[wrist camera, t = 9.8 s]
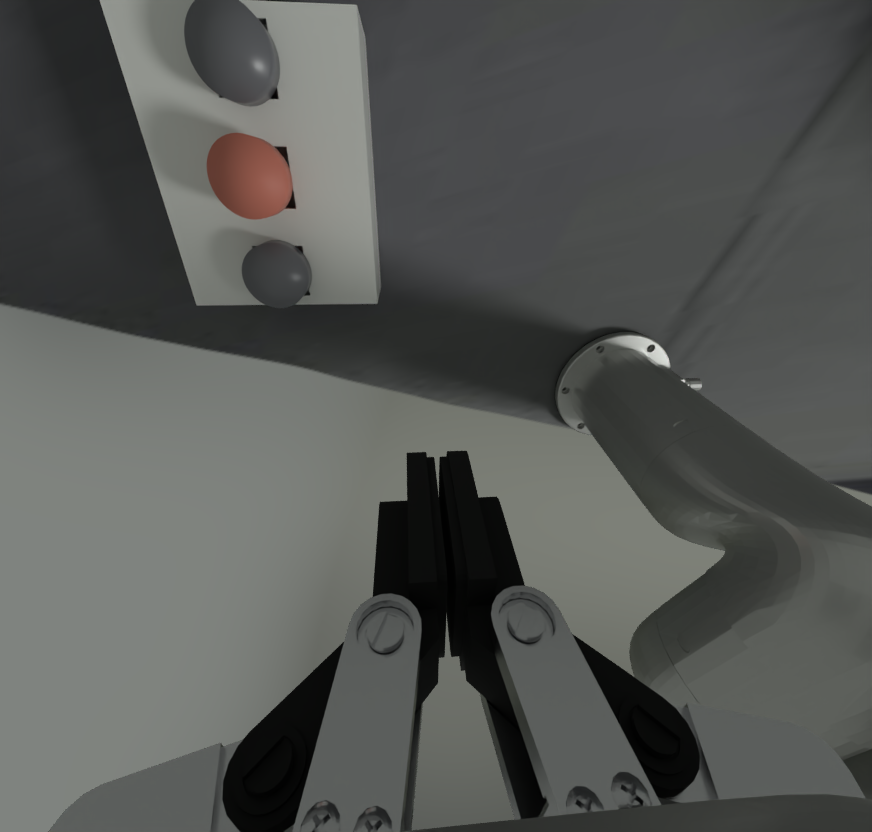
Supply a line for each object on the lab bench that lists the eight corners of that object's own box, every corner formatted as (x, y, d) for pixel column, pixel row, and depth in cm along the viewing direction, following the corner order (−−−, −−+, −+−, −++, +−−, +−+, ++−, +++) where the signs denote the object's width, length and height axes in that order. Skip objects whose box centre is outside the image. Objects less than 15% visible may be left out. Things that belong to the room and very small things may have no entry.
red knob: (298, 141, 27) (276, 133, 22) (308, 213, 29) (290, 219, 24) (233, 140, 26) (196, 131, 22) (248, 212, 29) (218, 219, 24)
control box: (365, 37, 27) (356, 4, 22) (381, 286, 36) (377, 303, 31) (157, 29, 26) (97, -7, 21) (226, 287, 35) (196, 305, 30)
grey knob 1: (287, 28, 25) (260, -7, 20) (299, 115, 27) (277, 101, 22) (216, 26, 24) (172, -11, 20) (234, 113, 27) (199, 100, 22)
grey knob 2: (315, 234, 31) (300, 243, 26) (323, 289, 33) (310, 307, 29) (260, 234, 31) (234, 243, 26) (271, 290, 33) (250, 308, 28)
